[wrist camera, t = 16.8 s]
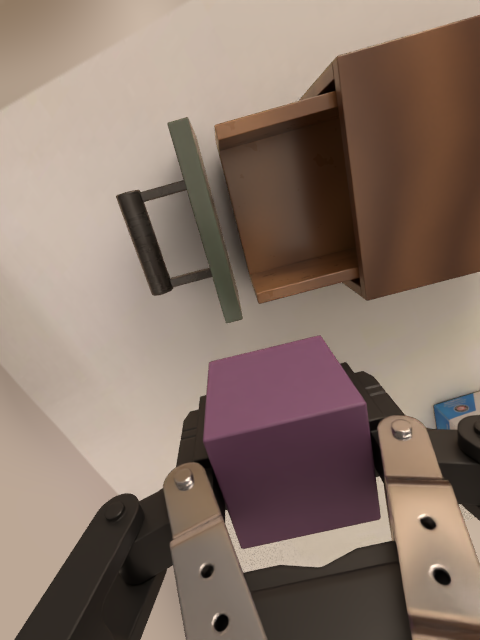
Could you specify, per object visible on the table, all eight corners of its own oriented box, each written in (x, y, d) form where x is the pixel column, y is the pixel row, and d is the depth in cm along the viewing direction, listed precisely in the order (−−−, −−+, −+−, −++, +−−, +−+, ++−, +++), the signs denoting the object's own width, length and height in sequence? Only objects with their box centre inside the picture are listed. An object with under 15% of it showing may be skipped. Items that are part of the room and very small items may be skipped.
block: (235, 448, 15) (241, 551, 11) (208, 361, 13) (201, 440, 9) (336, 425, 15) (382, 520, 10) (320, 333, 13) (367, 402, 9)
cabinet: (327, 272, 30) (366, 301, 22) (299, 99, 25) (336, 55, 17) (478, 232, 29) (575, 247, 21) (479, 48, 25) (605, -22, 17)
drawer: (172, 309, 29) (159, 341, 23) (118, 157, 25) (84, 146, 19) (365, 258, 29) (406, 277, 22) (345, 93, 24) (390, 58, 18)
